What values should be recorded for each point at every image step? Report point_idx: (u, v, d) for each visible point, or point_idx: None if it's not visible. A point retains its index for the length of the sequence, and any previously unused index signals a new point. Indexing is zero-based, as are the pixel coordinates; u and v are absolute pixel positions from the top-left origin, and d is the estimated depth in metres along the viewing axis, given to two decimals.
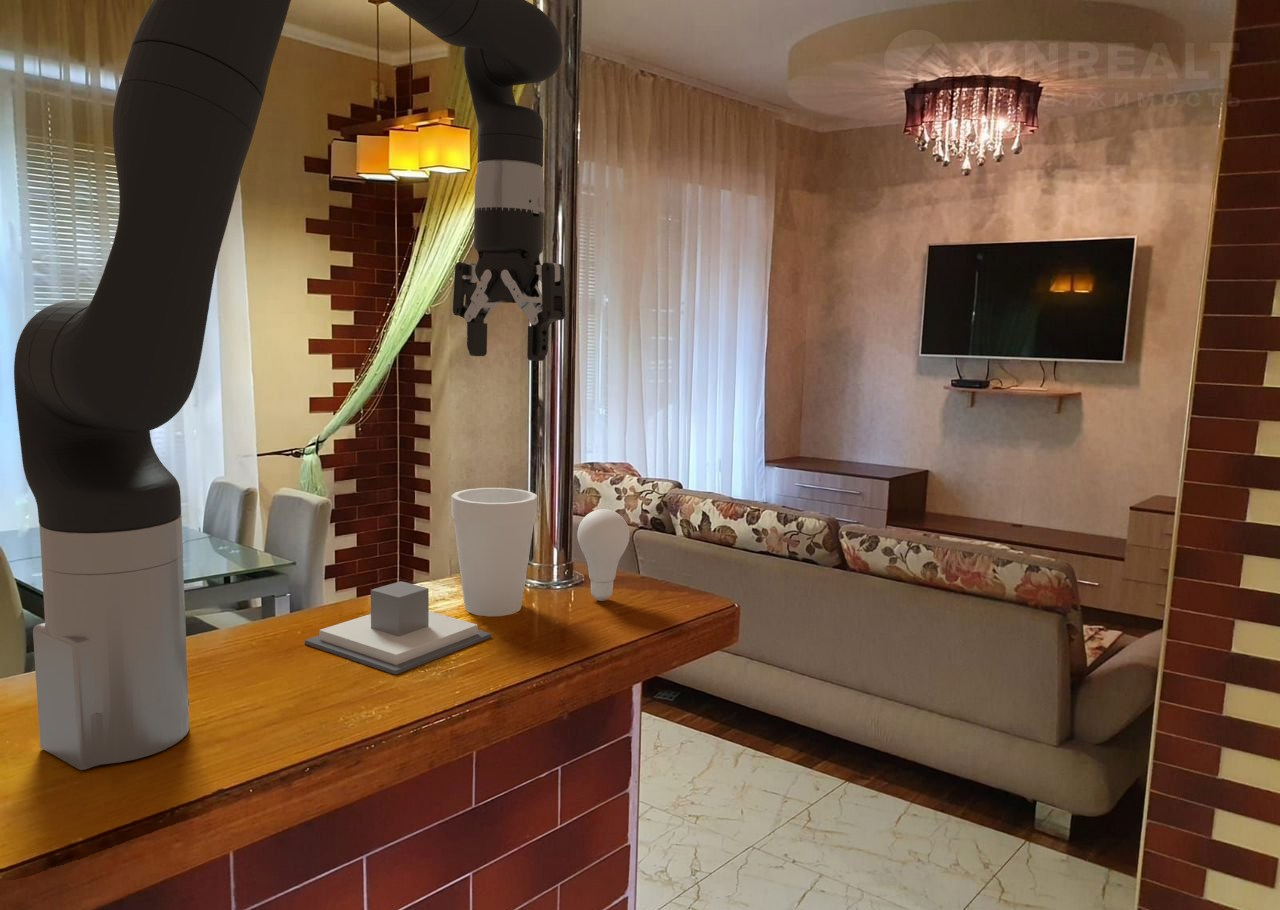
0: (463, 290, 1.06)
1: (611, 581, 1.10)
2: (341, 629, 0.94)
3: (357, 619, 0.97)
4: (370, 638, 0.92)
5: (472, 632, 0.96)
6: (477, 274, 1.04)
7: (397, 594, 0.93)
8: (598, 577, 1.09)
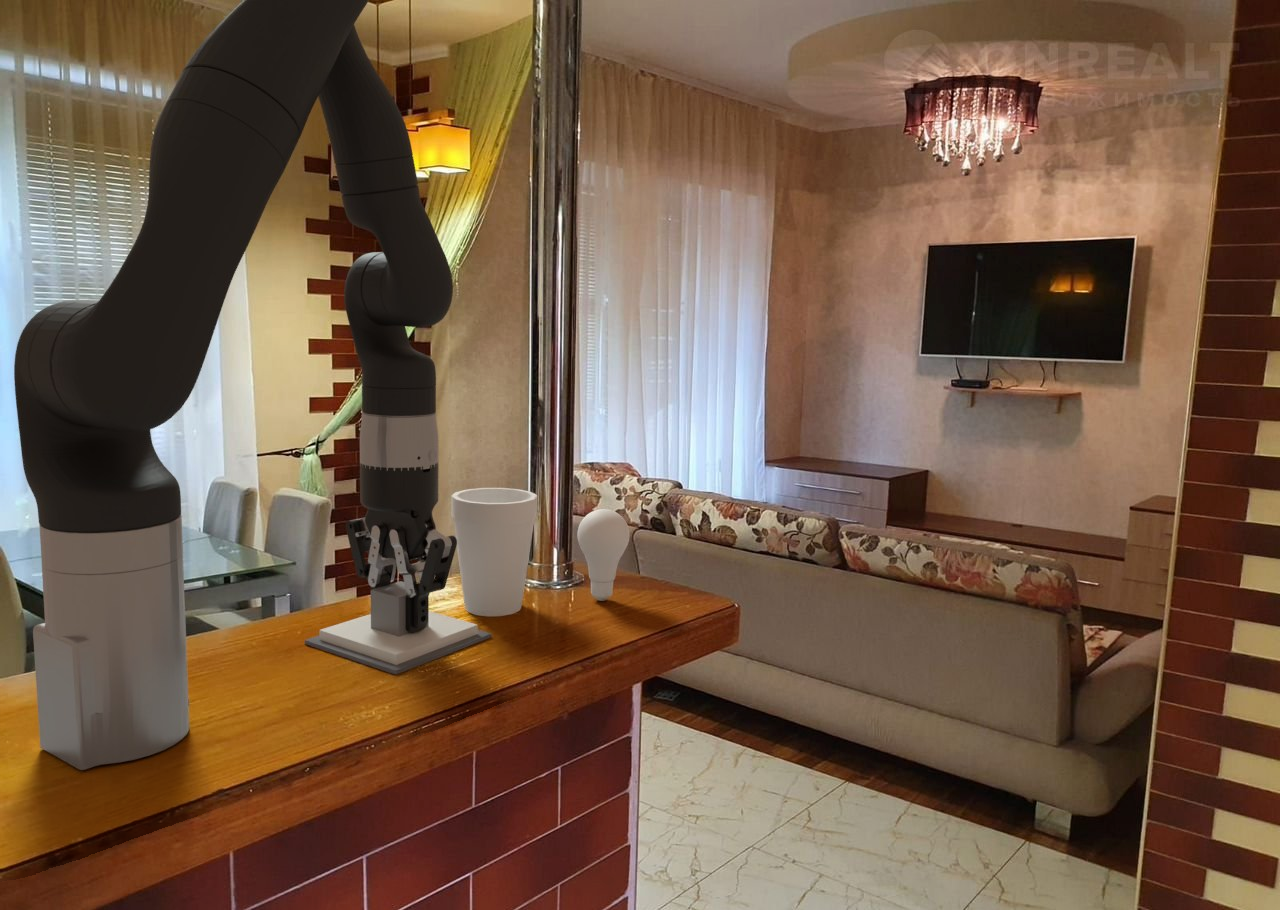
0: (361, 548, 0.96)
1: (611, 581, 1.10)
2: (341, 629, 0.94)
3: (357, 619, 0.97)
4: (370, 638, 0.92)
5: (472, 632, 0.96)
6: (367, 525, 0.95)
7: (397, 594, 0.93)
8: (598, 577, 1.09)
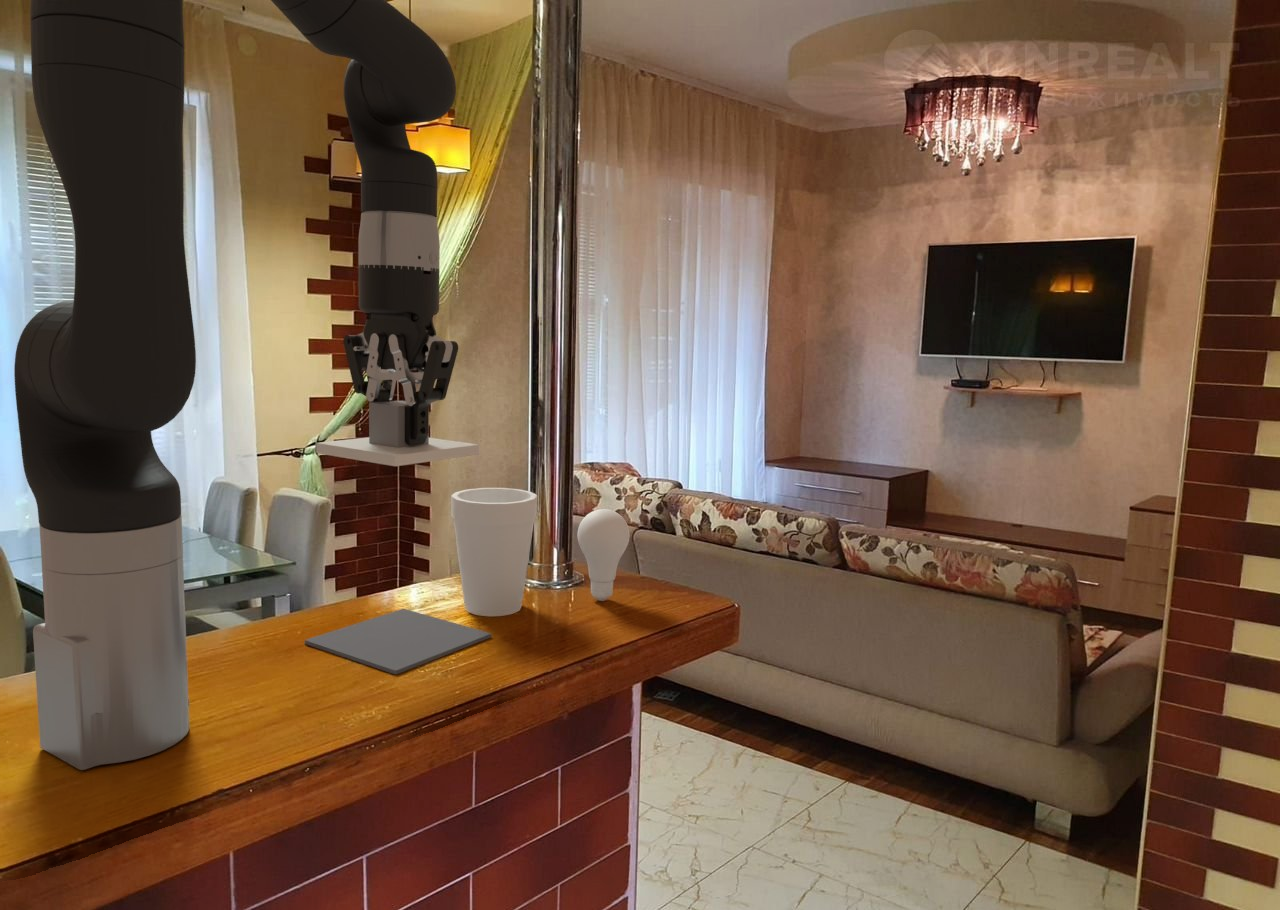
0: (359, 363, 0.93)
1: (611, 581, 1.10)
2: (339, 443, 0.91)
3: (355, 439, 0.94)
4: (368, 447, 0.89)
5: (473, 451, 0.94)
6: (365, 337, 0.92)
7: (396, 405, 0.90)
8: (599, 577, 1.09)
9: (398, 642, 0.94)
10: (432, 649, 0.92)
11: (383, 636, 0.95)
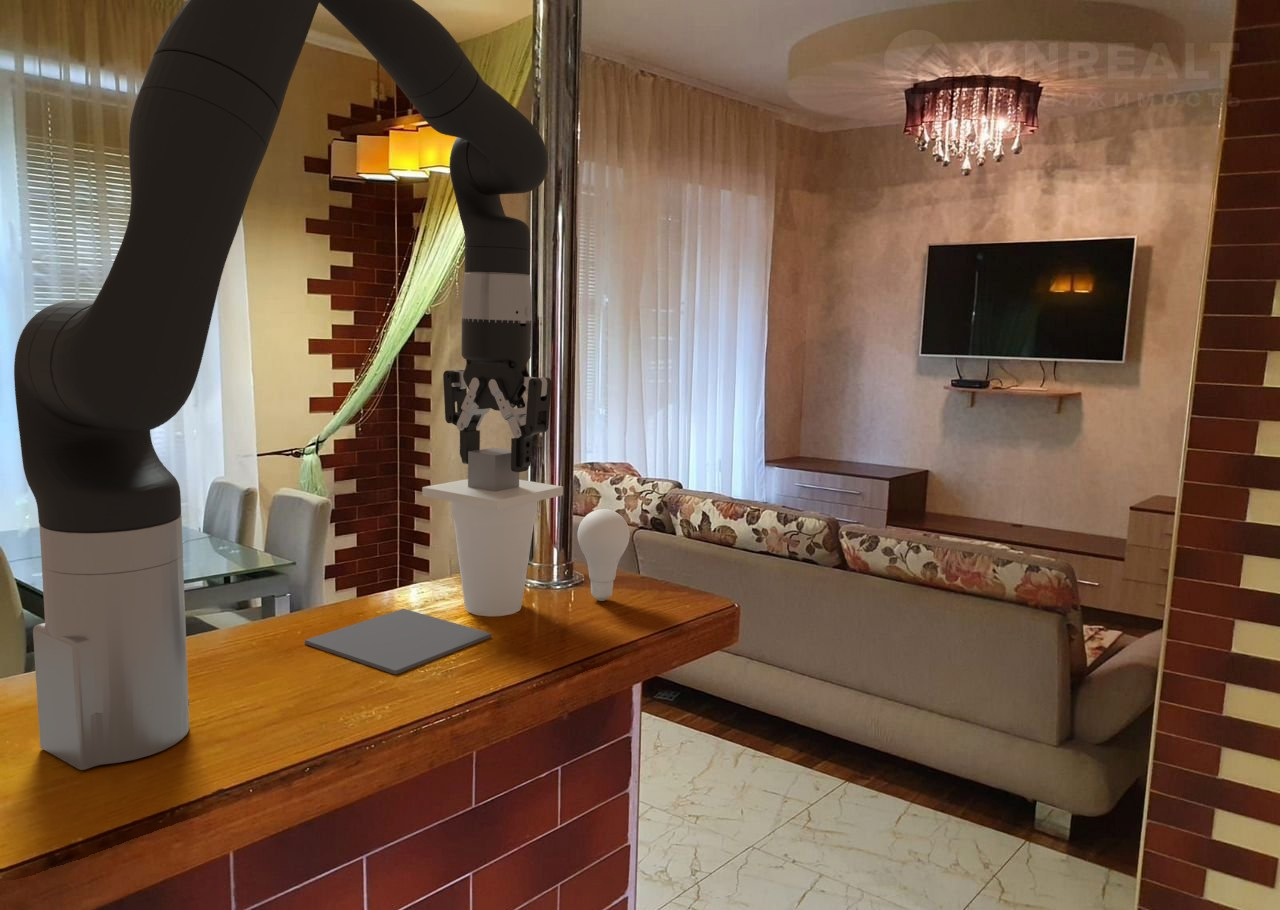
0: (453, 397, 1.06)
1: (611, 581, 1.10)
2: (442, 487, 1.04)
3: (453, 482, 1.07)
4: (470, 492, 1.02)
5: (558, 492, 1.06)
6: (465, 380, 1.04)
7: (493, 453, 1.03)
8: (599, 577, 1.09)
9: (398, 642, 0.94)
10: (432, 649, 0.92)
11: (383, 636, 0.95)
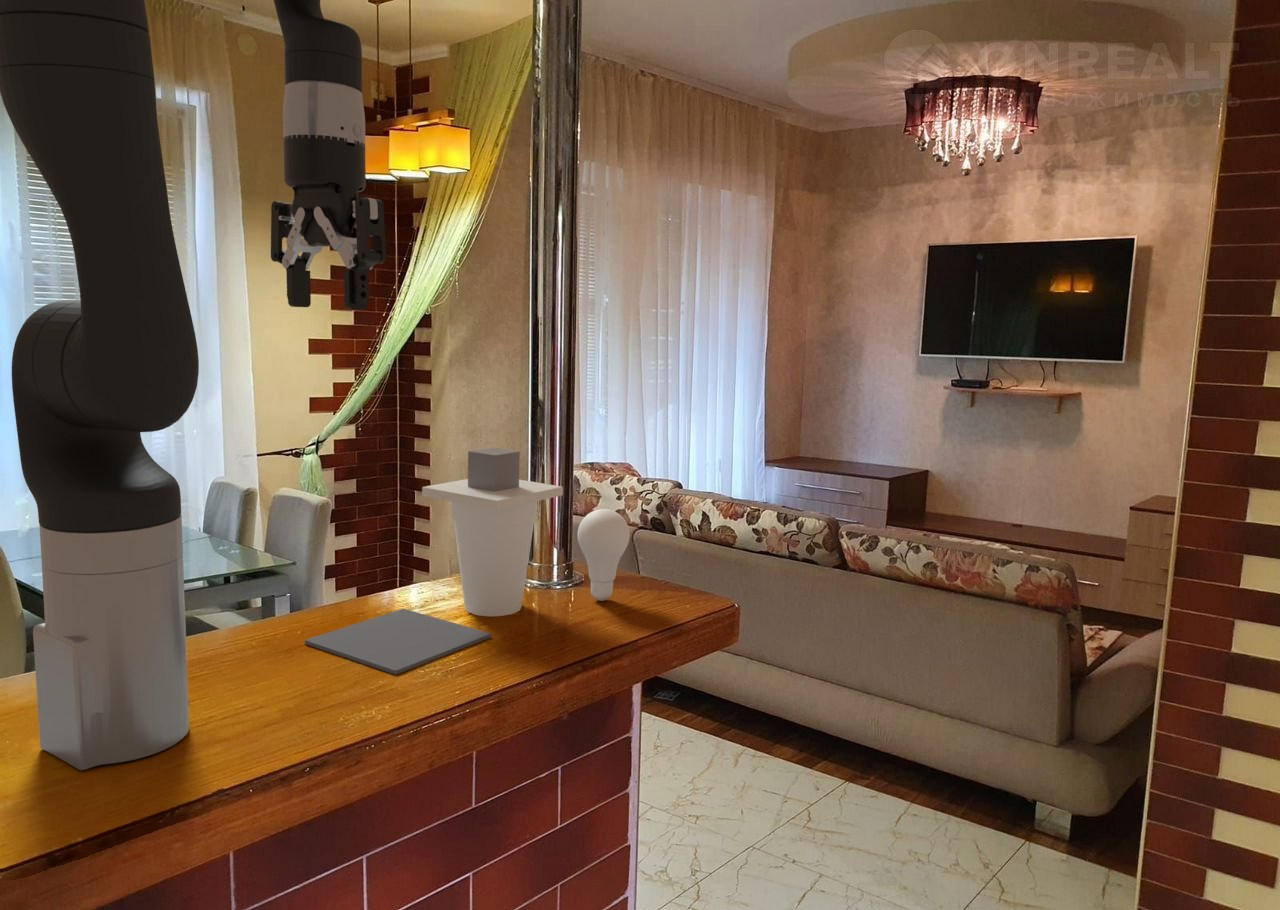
0: (281, 233, 0.95)
1: (611, 581, 1.10)
2: (441, 487, 1.04)
3: (453, 482, 1.07)
4: (470, 492, 1.02)
5: (558, 493, 1.06)
6: (293, 214, 0.93)
7: (493, 453, 1.03)
8: (599, 577, 1.09)
9: (398, 642, 0.94)
10: (432, 649, 0.92)
11: (383, 636, 0.95)
